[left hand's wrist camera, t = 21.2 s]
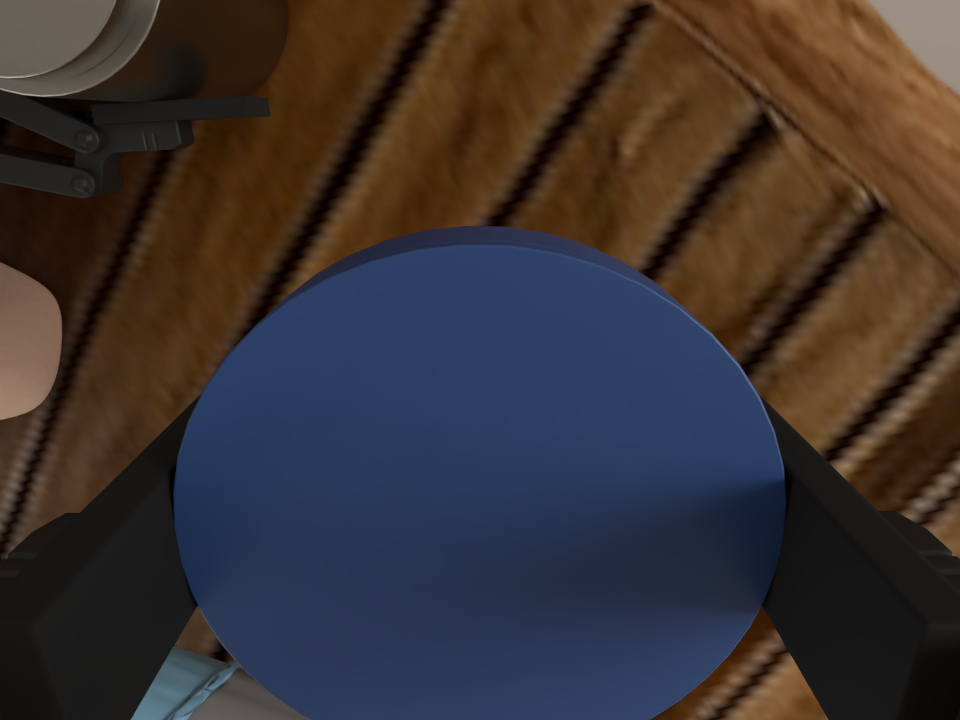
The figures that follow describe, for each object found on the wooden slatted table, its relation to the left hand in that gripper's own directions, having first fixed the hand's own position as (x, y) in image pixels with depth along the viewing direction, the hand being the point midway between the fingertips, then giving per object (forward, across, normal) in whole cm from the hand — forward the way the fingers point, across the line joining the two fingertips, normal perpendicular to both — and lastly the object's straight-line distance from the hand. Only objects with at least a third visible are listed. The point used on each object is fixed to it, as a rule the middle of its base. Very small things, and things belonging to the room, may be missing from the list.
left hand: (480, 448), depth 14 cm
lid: (-3, 0, 0) cm, 3 cm away
